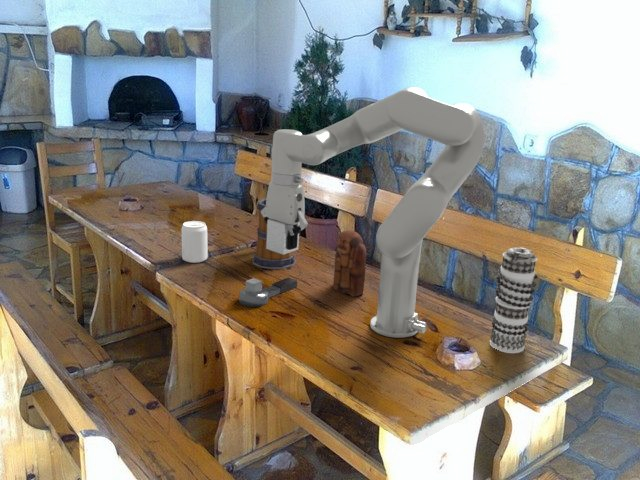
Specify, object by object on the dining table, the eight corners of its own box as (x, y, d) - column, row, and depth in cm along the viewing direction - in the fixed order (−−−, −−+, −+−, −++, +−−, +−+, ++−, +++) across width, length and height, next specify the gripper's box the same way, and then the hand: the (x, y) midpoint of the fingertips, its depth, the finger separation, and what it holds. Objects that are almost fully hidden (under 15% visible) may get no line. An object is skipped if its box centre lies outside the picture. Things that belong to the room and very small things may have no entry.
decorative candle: (497, 333, 168) (510, 241, 160) (531, 345, 163) (546, 250, 155) (481, 345, 161) (494, 250, 154) (516, 357, 156) (531, 259, 148)
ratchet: (303, 288, 192) (304, 269, 190) (253, 309, 176) (254, 288, 174) (283, 281, 196) (283, 262, 194) (233, 301, 180) (233, 281, 179)
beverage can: (179, 256, 213) (178, 221, 209) (203, 254, 216) (203, 219, 212) (185, 265, 206) (184, 228, 202) (210, 262, 209) (210, 226, 205)
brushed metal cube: (298, 249, 173) (300, 220, 170) (283, 254, 168) (284, 225, 166) (281, 243, 176) (282, 215, 174) (266, 248, 172) (267, 219, 169)
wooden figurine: (325, 286, 194) (328, 228, 188) (341, 281, 198) (344, 225, 192) (353, 299, 186) (357, 239, 180) (369, 293, 190) (373, 235, 184)
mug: (241, 252, 220) (241, 194, 214) (280, 247, 226) (282, 191, 220) (260, 271, 203) (261, 209, 197) (303, 266, 209) (305, 206, 203)
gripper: (321, 183, 164) (316, 250, 170) (270, 170, 174) (267, 234, 180) (302, 187, 158) (298, 257, 164) (251, 174, 168) (248, 240, 174)
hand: (282, 244), depth 172 cm, fingers closed on brushed metal cube, 6 cm apart
